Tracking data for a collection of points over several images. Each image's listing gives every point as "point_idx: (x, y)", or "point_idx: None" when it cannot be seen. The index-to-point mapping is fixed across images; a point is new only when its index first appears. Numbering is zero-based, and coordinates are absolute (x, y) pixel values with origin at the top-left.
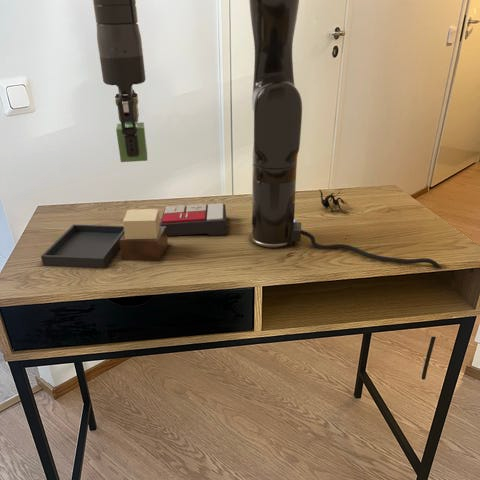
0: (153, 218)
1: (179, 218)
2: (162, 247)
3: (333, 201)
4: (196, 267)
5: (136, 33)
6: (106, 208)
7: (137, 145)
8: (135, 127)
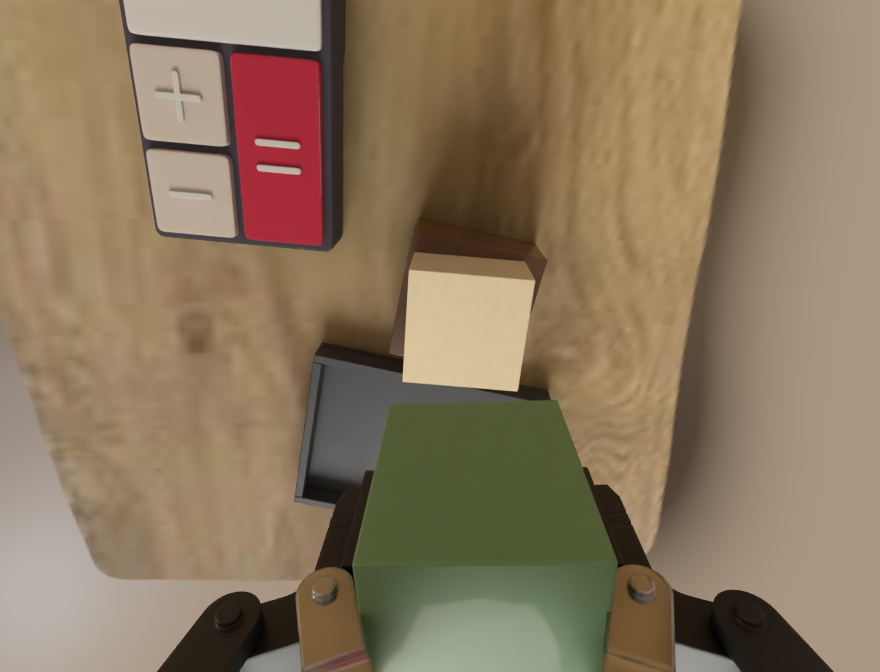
0: (512, 286)
1: (304, 176)
2: (487, 237)
3: None
4: (608, 120)
5: None
6: (98, 424)
7: (602, 511)
8: (810, 651)
